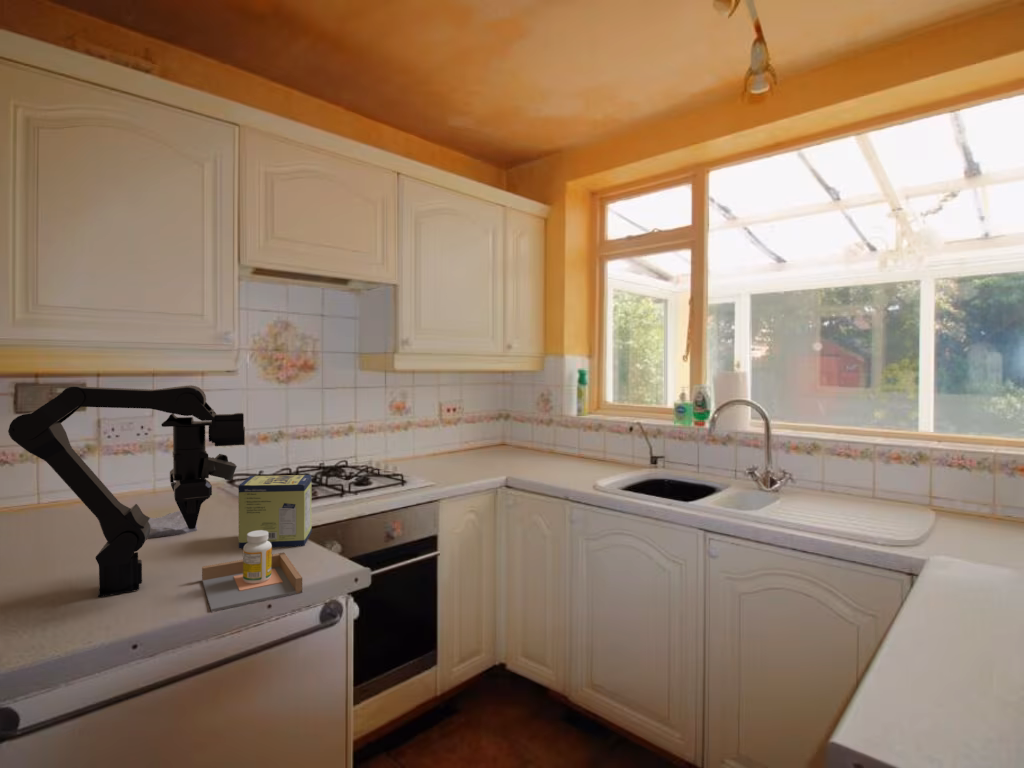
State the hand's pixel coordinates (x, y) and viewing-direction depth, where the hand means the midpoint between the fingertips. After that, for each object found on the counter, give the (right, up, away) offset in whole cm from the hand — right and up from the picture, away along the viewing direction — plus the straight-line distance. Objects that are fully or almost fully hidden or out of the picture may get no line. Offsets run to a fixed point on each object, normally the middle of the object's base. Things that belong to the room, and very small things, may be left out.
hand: (190, 522), depth 114 cm
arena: (+14, -13, -2) cm, 19 cm away
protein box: (+7, -11, +25) cm, 28 cm away
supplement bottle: (+14, -12, 0) cm, 18 cm away
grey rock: (-23, -10, +30) cm, 39 cm away
